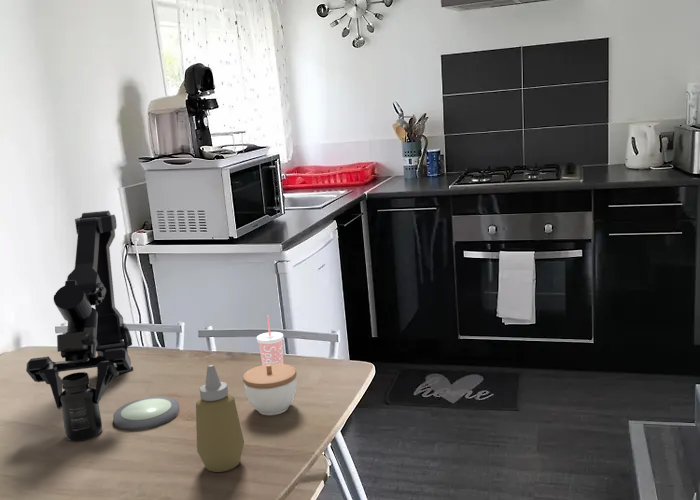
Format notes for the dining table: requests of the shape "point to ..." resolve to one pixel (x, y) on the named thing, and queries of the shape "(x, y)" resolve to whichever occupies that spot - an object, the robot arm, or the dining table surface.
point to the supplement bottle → (79, 408)
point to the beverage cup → (271, 346)
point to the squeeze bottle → (218, 425)
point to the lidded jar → (270, 387)
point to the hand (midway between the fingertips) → (77, 405)
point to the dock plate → (146, 413)
